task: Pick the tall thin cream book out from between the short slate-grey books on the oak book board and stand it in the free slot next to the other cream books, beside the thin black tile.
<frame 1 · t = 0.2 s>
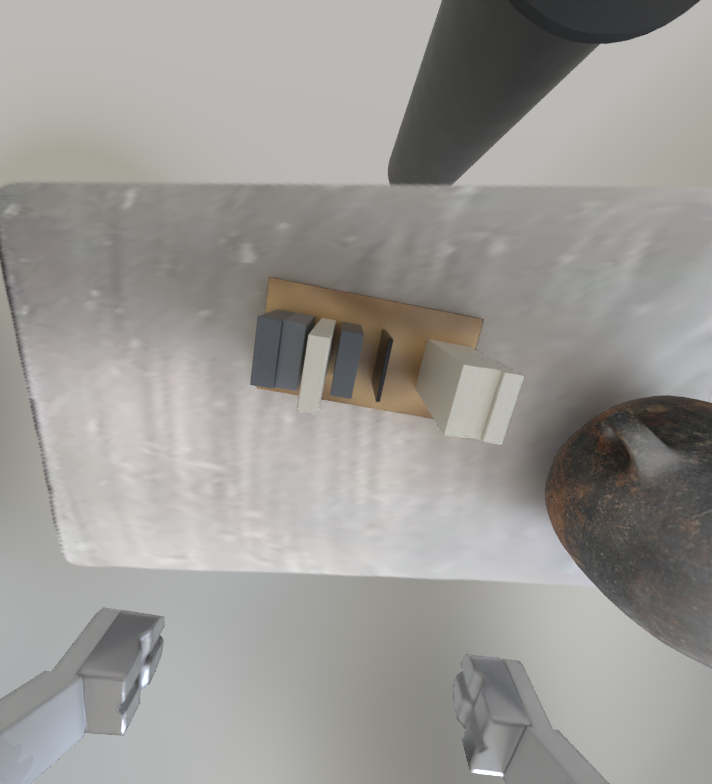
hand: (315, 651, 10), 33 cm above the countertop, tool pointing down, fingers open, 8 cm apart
jug: (605, 461, 45), on the countertop
book board: (367, 352, 41), on the countertop
thin black tile: (378, 356, 40), resting on book board
cream books: (441, 368, 40), resting on book board
thin cream book: (324, 346, 39), point 1 cm above the countertop, touching book board
grey books: (301, 342, 39), resting on book board
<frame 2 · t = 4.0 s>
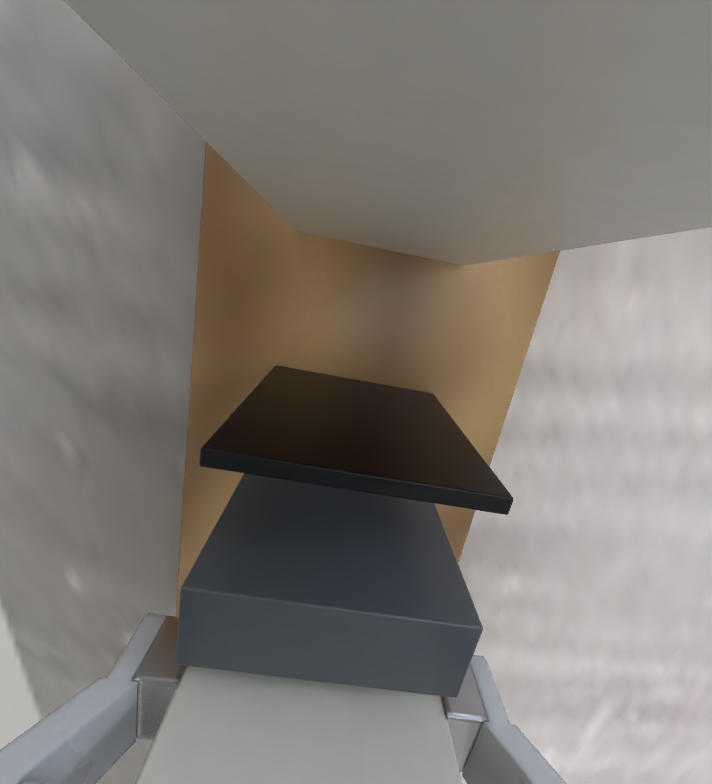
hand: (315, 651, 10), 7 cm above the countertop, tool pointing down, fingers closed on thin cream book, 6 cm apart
book board: (348, 405, 15), on the countertop
thin black tile: (354, 384, 14), resting on book board
cream books: (396, 169, 12), resting on book board
thin cream book: (328, 520, 15), point 1 cm above the countertop, touching book board, gripper
grey books: (318, 568, 16), resting on book board
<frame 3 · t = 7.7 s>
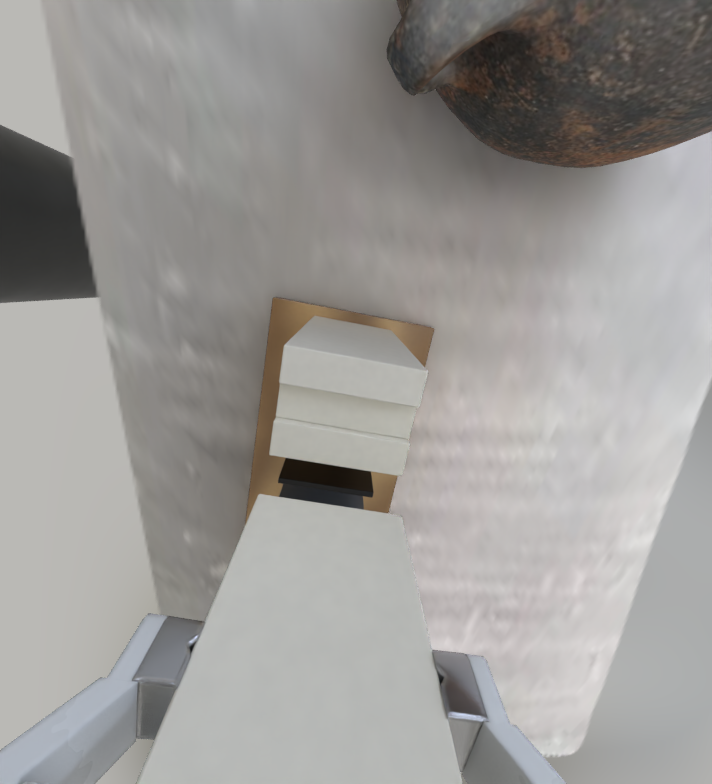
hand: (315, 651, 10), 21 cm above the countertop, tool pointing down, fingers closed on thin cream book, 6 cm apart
jug: (543, 4, 22), on the countertop
book board: (329, 449, 31), on the countertop
thin black tile: (331, 441, 29), resting on book board
cream books: (347, 354, 27), resting on book board
thin cream book: (328, 520, 15), point 15 cm above the countertop, touching gripper
grey books: (314, 529, 32), resting on book board
when the fingers open (6 cm above the countertop, at t = 11.4 s): thin cream book stays where it is, resting on book board.
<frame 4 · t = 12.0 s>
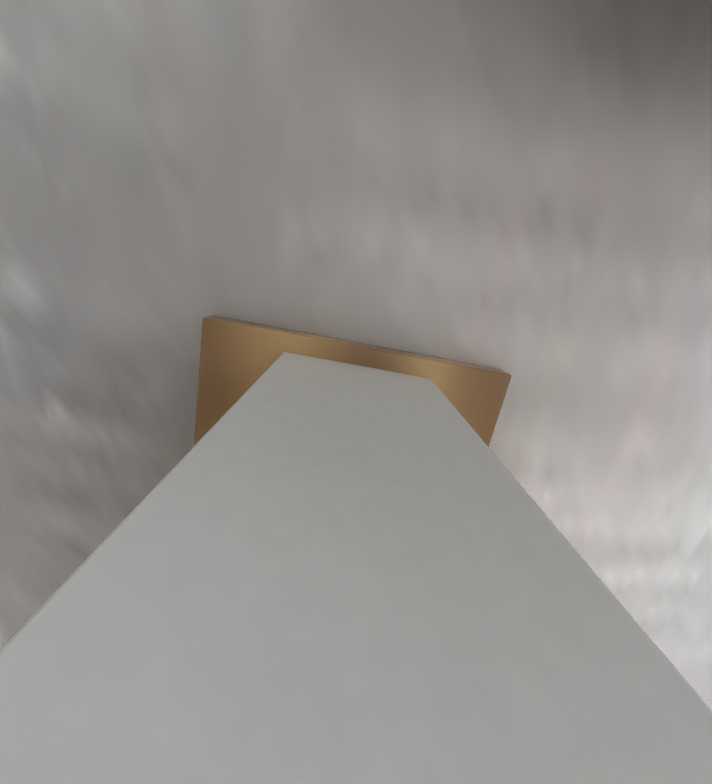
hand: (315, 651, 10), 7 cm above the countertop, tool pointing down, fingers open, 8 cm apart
book board: (316, 570, 18), on the countertop
cream books: (347, 422, 15), resting on book board
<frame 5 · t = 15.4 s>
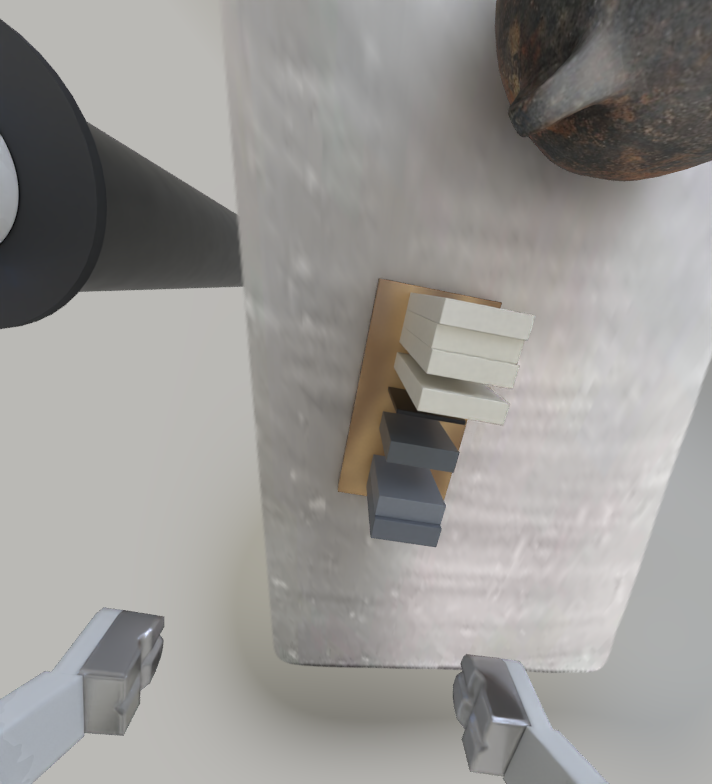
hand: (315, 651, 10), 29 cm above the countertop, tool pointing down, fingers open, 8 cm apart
jug: (592, 58, 30), on the countertop
book board: (412, 401, 39), on the countertop
thin black tile: (416, 393, 37), resting on book board
cream books: (433, 323, 35), resting on book board
thin cream book: (424, 364, 36), point 1 cm above the countertop, touching book board
grey books: (398, 466, 40), resting on book board
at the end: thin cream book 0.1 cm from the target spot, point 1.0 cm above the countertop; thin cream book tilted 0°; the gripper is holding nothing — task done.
